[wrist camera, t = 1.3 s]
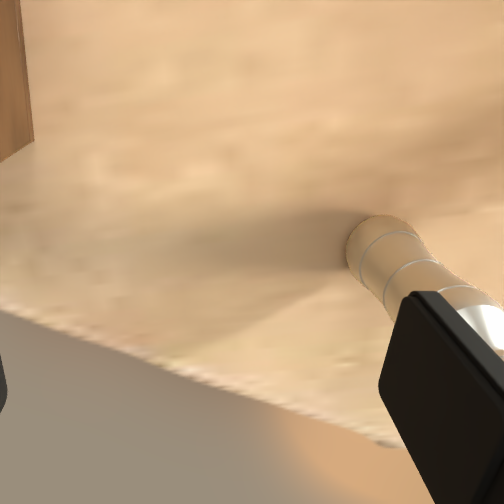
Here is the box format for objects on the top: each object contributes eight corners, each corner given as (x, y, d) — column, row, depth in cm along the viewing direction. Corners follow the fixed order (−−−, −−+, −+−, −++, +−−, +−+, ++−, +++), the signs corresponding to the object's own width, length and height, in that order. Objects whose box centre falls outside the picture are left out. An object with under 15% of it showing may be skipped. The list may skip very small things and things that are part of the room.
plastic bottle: (332, 270, 41) (435, 447, 24) (347, 203, 38) (478, 349, 21) (395, 273, 42) (538, 446, 25) (415, 209, 39) (594, 352, 22)
